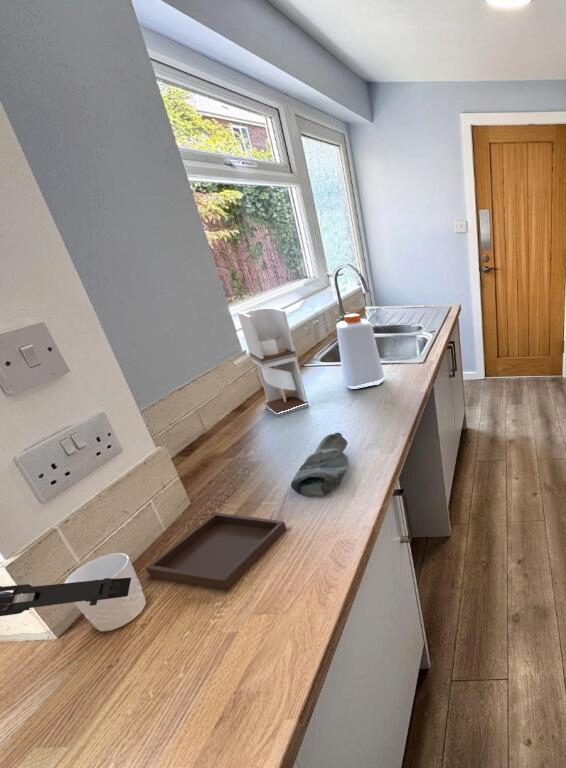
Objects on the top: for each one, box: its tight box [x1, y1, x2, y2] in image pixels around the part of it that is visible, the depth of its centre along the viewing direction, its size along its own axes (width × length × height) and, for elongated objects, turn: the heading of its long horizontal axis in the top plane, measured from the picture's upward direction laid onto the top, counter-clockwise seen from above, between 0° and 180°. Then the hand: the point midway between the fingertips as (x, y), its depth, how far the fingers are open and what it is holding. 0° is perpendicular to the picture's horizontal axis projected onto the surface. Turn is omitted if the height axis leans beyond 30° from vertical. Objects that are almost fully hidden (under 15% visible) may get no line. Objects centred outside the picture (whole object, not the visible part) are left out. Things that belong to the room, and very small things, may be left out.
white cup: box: [63, 552, 147, 632], centre depth 68 cm, size 8×8×10 cm
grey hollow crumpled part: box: [290, 432, 349, 498], centre depth 107 cm, size 13×7×25 cm
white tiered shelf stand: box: [237, 306, 309, 418], centre depth 139 cm, size 11×11×35 cm
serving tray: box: [145, 512, 287, 591], centre depth 82 cm, size 18×16×2 cm
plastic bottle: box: [335, 313, 385, 386], centre depth 160 cm, size 15×15×28 cm
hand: (78, 593), depth 63 cm, fingers open, 13 cm apart
